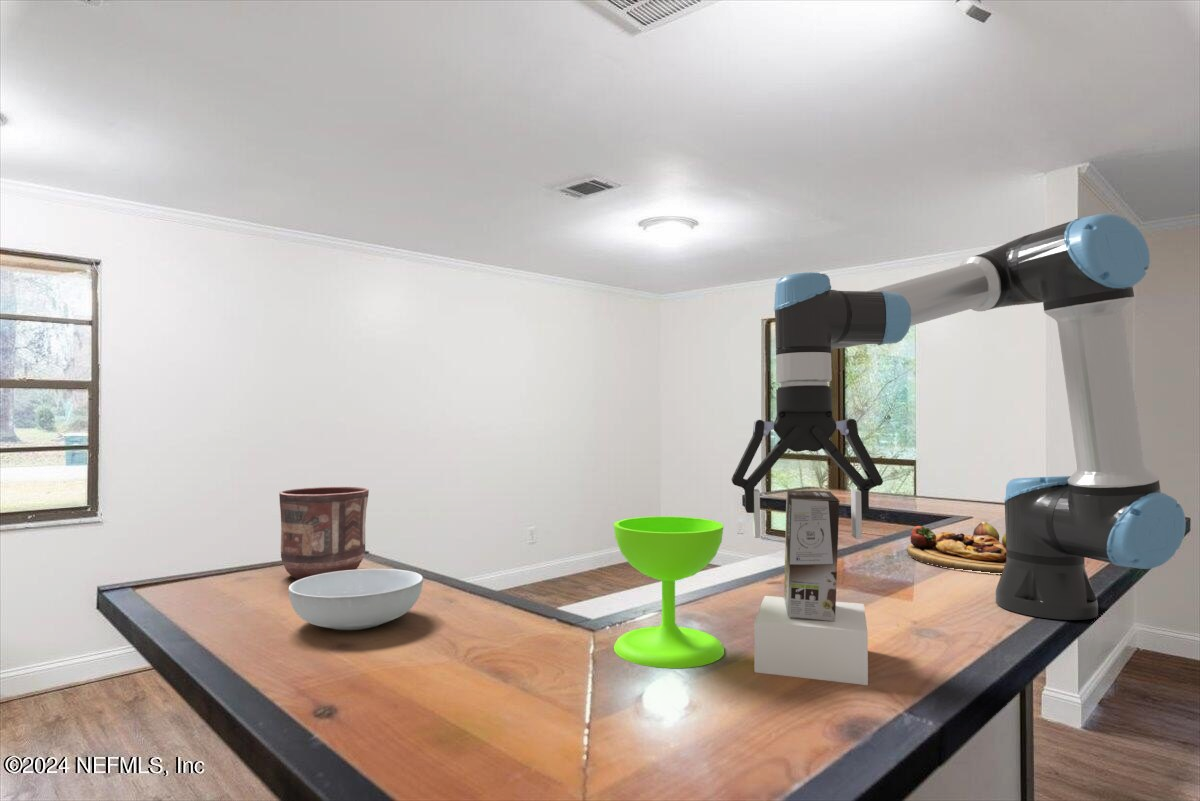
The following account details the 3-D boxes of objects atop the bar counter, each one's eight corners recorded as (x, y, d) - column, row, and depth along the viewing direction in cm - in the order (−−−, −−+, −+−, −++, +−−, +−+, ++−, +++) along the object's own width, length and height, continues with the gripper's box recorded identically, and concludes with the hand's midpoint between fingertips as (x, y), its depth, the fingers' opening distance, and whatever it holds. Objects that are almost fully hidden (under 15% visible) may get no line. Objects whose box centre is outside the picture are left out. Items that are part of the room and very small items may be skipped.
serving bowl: (448, 613, 120) (448, 573, 120) (359, 650, 101) (359, 602, 101) (356, 600, 129) (356, 562, 129) (257, 632, 110) (258, 588, 110)
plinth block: (864, 652, 101) (863, 603, 101) (868, 688, 88) (867, 631, 88) (764, 642, 106) (764, 595, 106) (754, 674, 92) (754, 621, 93)
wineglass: (650, 676, 91) (650, 536, 91) (594, 641, 105) (594, 520, 106) (747, 656, 98) (747, 527, 99) (683, 626, 113) (682, 513, 113)
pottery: (349, 584, 140) (350, 494, 141) (262, 584, 141) (264, 494, 141) (378, 566, 158) (379, 486, 159) (301, 566, 158) (302, 486, 159)
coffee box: (837, 622, 92) (840, 500, 92) (786, 618, 94) (789, 497, 93) (828, 601, 101) (832, 490, 101) (782, 598, 102) (785, 488, 102)
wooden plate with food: (888, 563, 162) (888, 528, 162) (927, 543, 186) (927, 512, 186) (1052, 588, 142) (1052, 547, 142) (1071, 561, 166) (1071, 526, 166)
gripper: (888, 384, 101) (891, 532, 100) (712, 387, 104) (714, 531, 103) (904, 382, 93) (908, 542, 93) (714, 385, 96) (717, 540, 96)
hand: (806, 537), depth 98 cm, fingers open, 13 cm apart
